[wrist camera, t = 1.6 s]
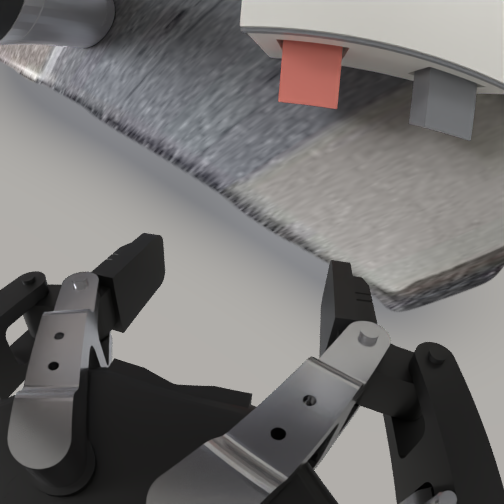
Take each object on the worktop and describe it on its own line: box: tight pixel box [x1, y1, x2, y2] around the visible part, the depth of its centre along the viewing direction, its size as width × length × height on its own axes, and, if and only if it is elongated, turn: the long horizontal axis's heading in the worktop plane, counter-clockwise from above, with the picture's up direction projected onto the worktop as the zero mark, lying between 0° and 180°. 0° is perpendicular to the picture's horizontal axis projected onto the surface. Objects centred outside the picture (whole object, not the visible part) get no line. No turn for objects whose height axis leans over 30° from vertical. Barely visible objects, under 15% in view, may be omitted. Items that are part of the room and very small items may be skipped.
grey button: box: [409, 67, 477, 141], centre depth 24 cm, size 5×6×5 cm
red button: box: [278, 40, 343, 109], centre depth 25 cm, size 5×6×5 cm
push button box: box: [240, 0, 504, 94], centre depth 22 cm, size 23×8×16 cm, turn 86°
